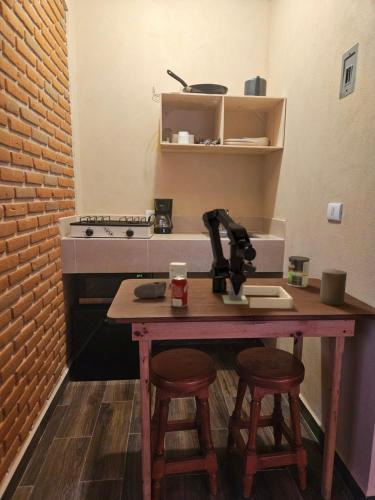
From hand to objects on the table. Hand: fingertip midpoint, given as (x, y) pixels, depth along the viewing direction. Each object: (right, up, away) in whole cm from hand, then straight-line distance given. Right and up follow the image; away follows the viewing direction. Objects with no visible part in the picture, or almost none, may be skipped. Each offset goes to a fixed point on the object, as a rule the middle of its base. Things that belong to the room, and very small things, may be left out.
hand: (235, 291), depth 136 cm
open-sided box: (+13, -4, 0) cm, 14 cm away
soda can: (-24, -5, -7) cm, 26 cm away
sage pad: (0, -4, +1) cm, 4 cm away
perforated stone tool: (-37, -3, +3) cm, 37 cm away
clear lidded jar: (+36, 0, +27) cm, 45 cm away
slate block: (0, -3, +1) cm, 3 cm away
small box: (-26, +1, +27) cm, 37 cm away
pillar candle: (+42, -5, 0) cm, 42 cm away
